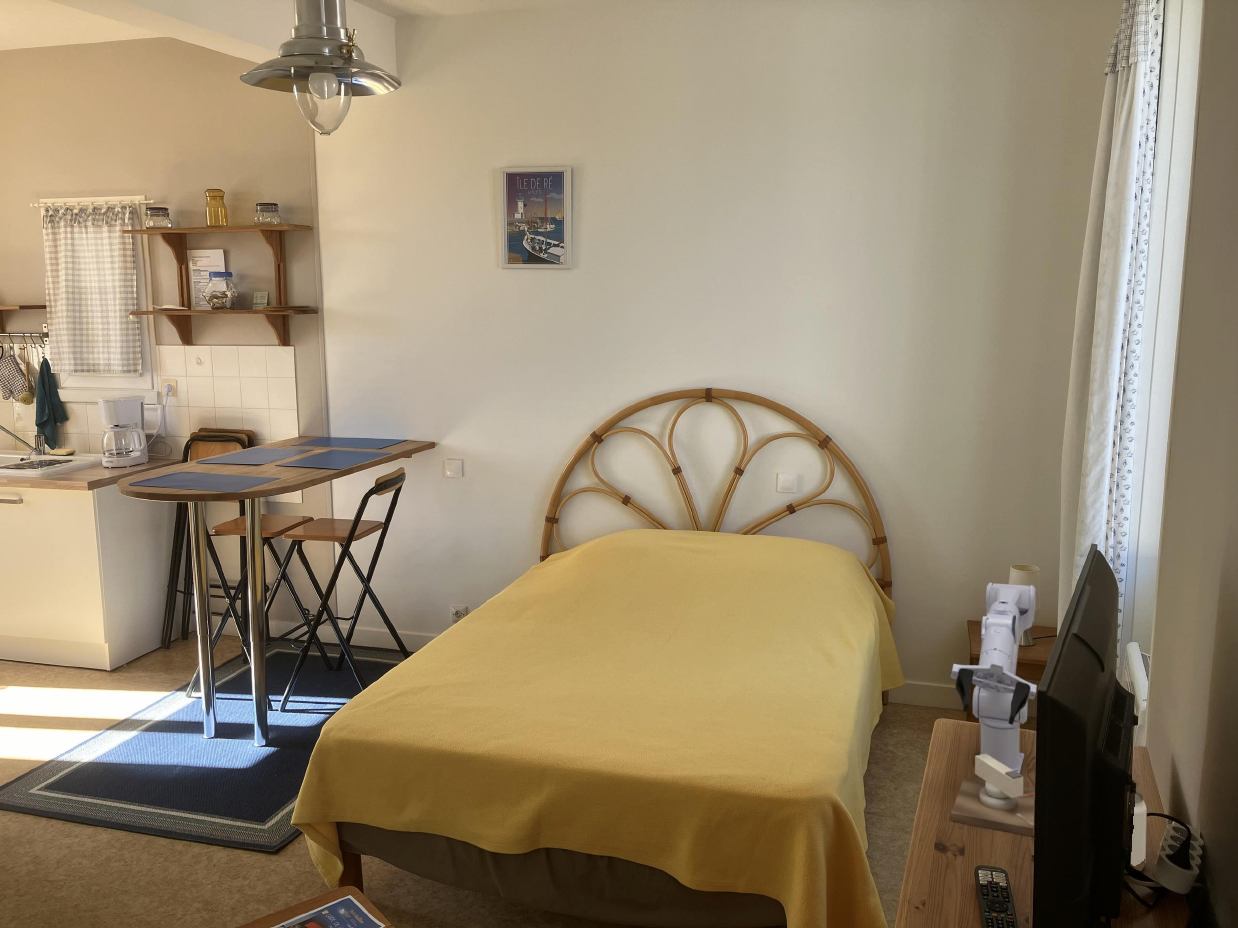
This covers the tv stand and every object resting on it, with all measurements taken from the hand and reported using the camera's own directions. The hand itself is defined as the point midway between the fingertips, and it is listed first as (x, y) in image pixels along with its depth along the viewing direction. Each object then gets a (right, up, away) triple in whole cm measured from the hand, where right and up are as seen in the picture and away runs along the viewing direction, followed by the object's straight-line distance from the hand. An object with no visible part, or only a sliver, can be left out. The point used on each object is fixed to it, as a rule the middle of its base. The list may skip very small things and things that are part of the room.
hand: (988, 714), depth 168 cm
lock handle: (+3, -15, +4) cm, 16 cm away
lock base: (+3, -18, +4) cm, 19 cm away
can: (+16, -21, -15) cm, 30 cm away
